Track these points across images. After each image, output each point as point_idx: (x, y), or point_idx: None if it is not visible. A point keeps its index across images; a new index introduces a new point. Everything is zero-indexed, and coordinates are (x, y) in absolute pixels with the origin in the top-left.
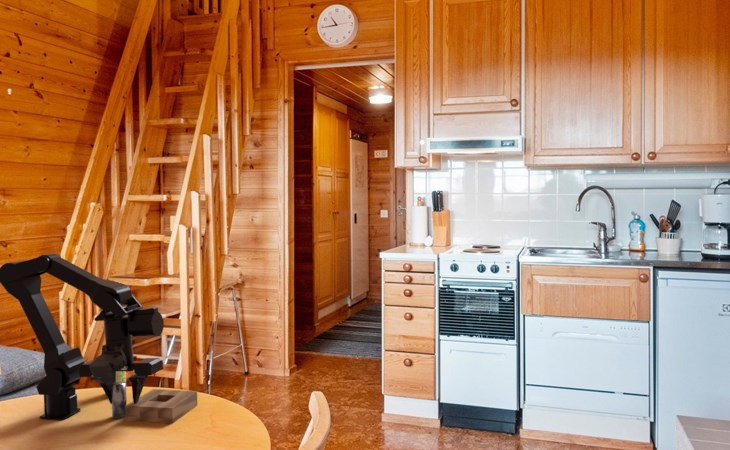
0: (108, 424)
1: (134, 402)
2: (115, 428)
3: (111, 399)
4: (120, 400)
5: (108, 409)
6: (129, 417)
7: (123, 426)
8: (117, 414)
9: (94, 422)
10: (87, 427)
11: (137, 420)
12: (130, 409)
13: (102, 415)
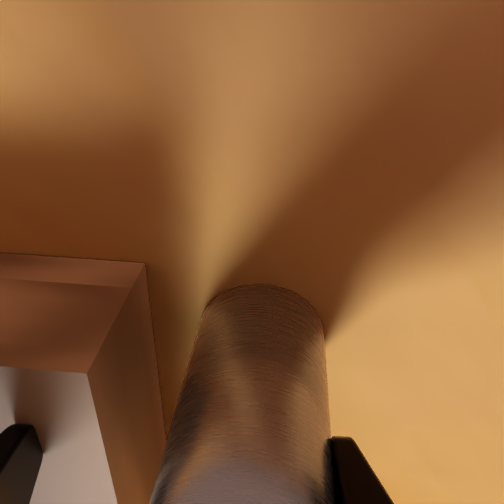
0: (254, 158)
1: (12, 434)
2: (91, 50)
3: (340, 488)
4: (175, 456)
5: (450, 452)
6: (89, 277)
7: (49, 119)
8: (238, 315)
9: (449, 197)
10: (472, 39)
11: (18, 258)
12: (35, 334)
13: (445, 354)
